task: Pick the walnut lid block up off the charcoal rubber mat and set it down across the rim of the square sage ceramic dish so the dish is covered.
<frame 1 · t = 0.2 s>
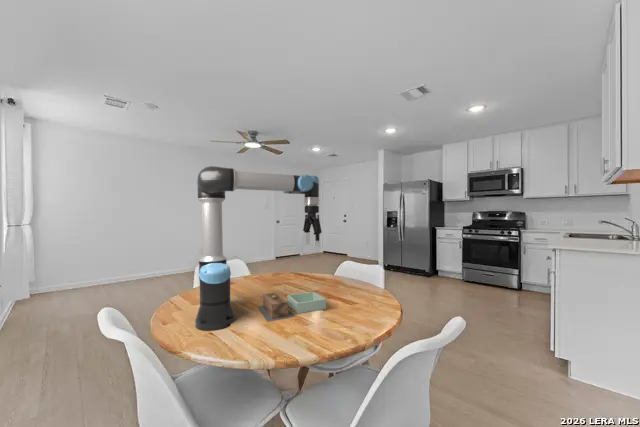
hand: (311, 245, 144), 27 cm above the table, fingers open, 13 cm apart
dish: (306, 307, 129), on the table
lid: (275, 311, 122), point 1 cm above the table, touching mat
mat: (275, 312, 122), on the table
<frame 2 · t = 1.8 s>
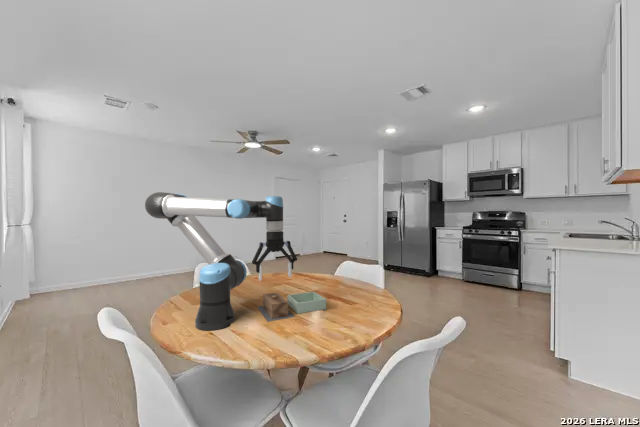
hand: (275, 278, 122), 15 cm above the table, fingers open, 13 cm apart
nothing on the table moved.
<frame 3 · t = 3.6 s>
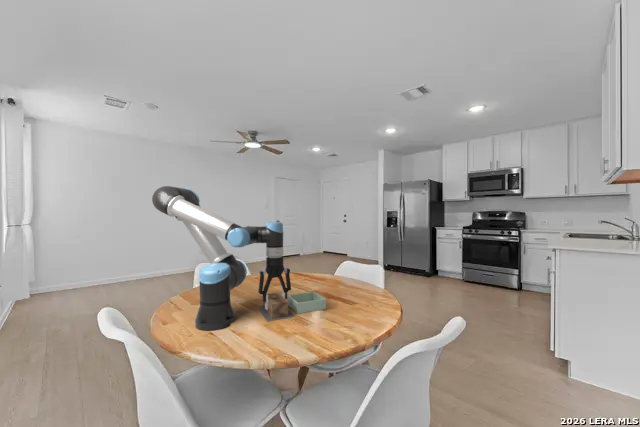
hand: (275, 307, 122), 2 cm above the table, fingers closed on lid, 7 cm apart
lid: (275, 311, 122), point 1 cm above the table, touching gripper, mat
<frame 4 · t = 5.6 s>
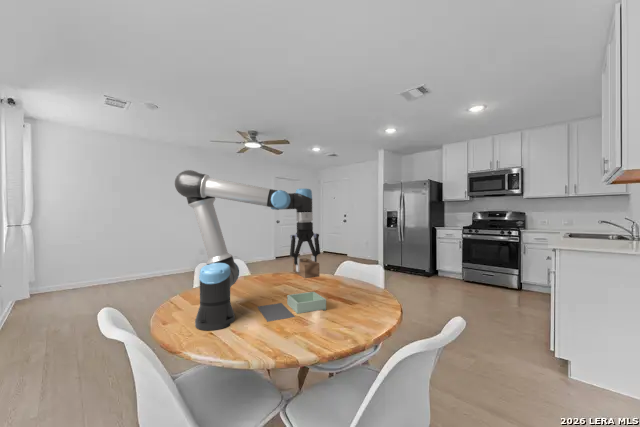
hand: (305, 270, 128), 18 cm above the table, fingers closed on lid, 7 cm apart
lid: (305, 273, 128), point 16 cm above the table, touching gripper
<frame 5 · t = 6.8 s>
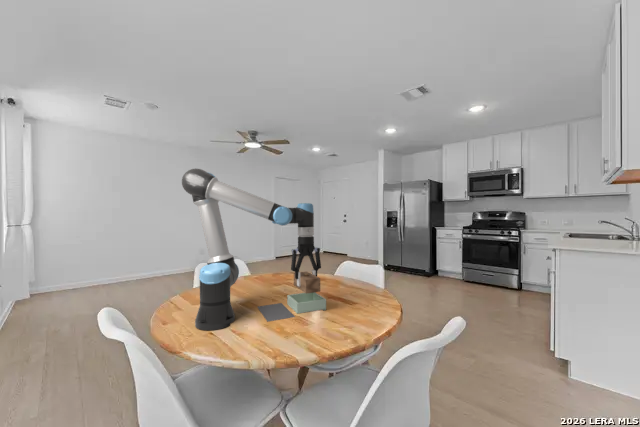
hand: (306, 284, 129), 11 cm above the table, fingers closed on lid, 7 cm apart
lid: (306, 288, 128), point 9 cm above the table, touching gripper
when the fingers open (8 cm above the table, at t = 7.7 s): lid drops 1 cm, resting on dish.
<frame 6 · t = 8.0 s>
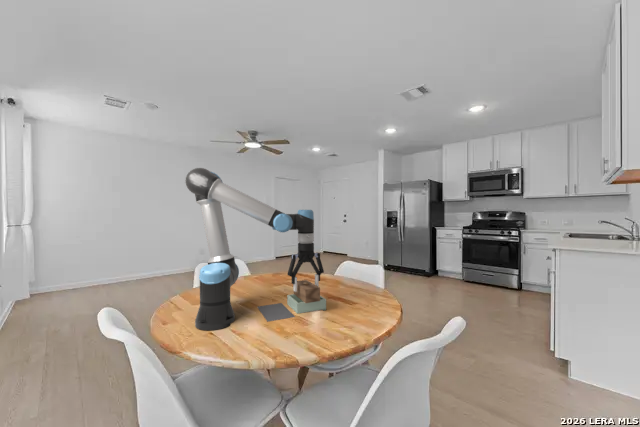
hand: (306, 289, 129), 9 cm above the table, fingers open, 10 cm apart
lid: (306, 297, 128), point 5 cm above the table, touching dish
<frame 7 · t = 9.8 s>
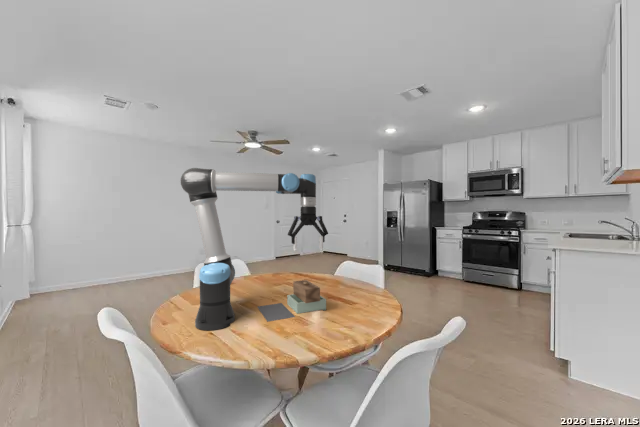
hand: (308, 249, 133), 27 cm above the table, fingers open, 13 cm apart
nothing on the table moved.
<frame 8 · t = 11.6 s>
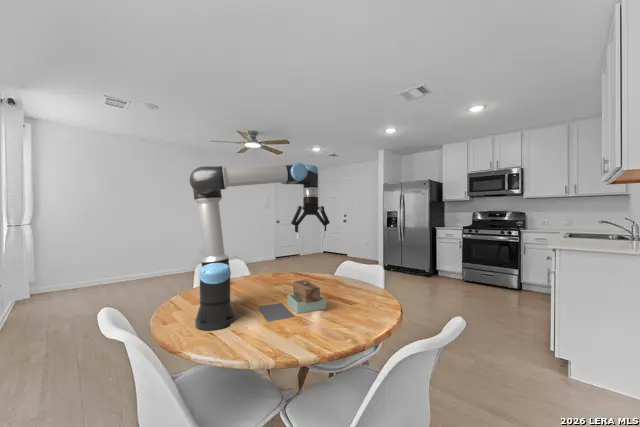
hand: (311, 238, 138), 32 cm above the table, fingers open, 13 cm apart
nothing on the table moved.
at the end: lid 0.1 cm off-centre on the dish, point 5.0 cm above the dish's base; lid touching dish; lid tilted 0° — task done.
